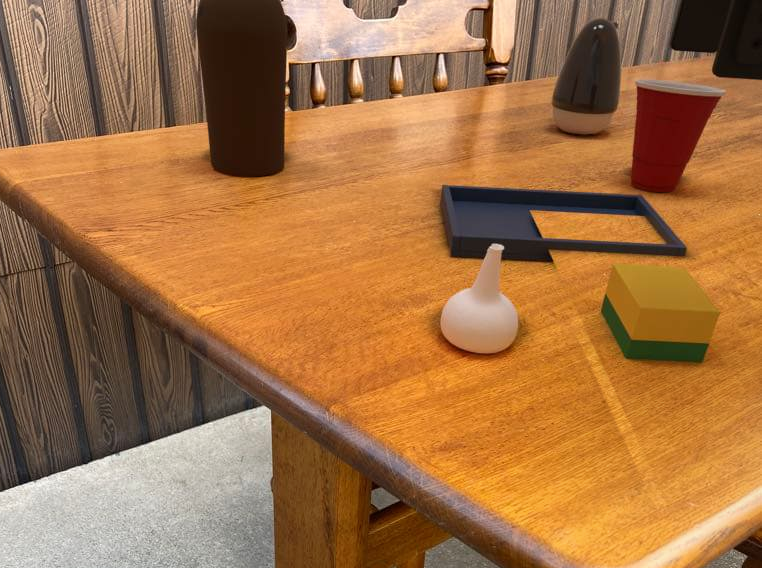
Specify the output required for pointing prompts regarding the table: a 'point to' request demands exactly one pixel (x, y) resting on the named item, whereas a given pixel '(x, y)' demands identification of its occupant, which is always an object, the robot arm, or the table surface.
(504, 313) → the garlic bulb
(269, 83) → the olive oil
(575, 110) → the grey rounded egg shape
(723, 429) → the table surface
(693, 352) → the sponge
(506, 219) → the tray
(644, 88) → the plastic cup
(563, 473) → the table surface
